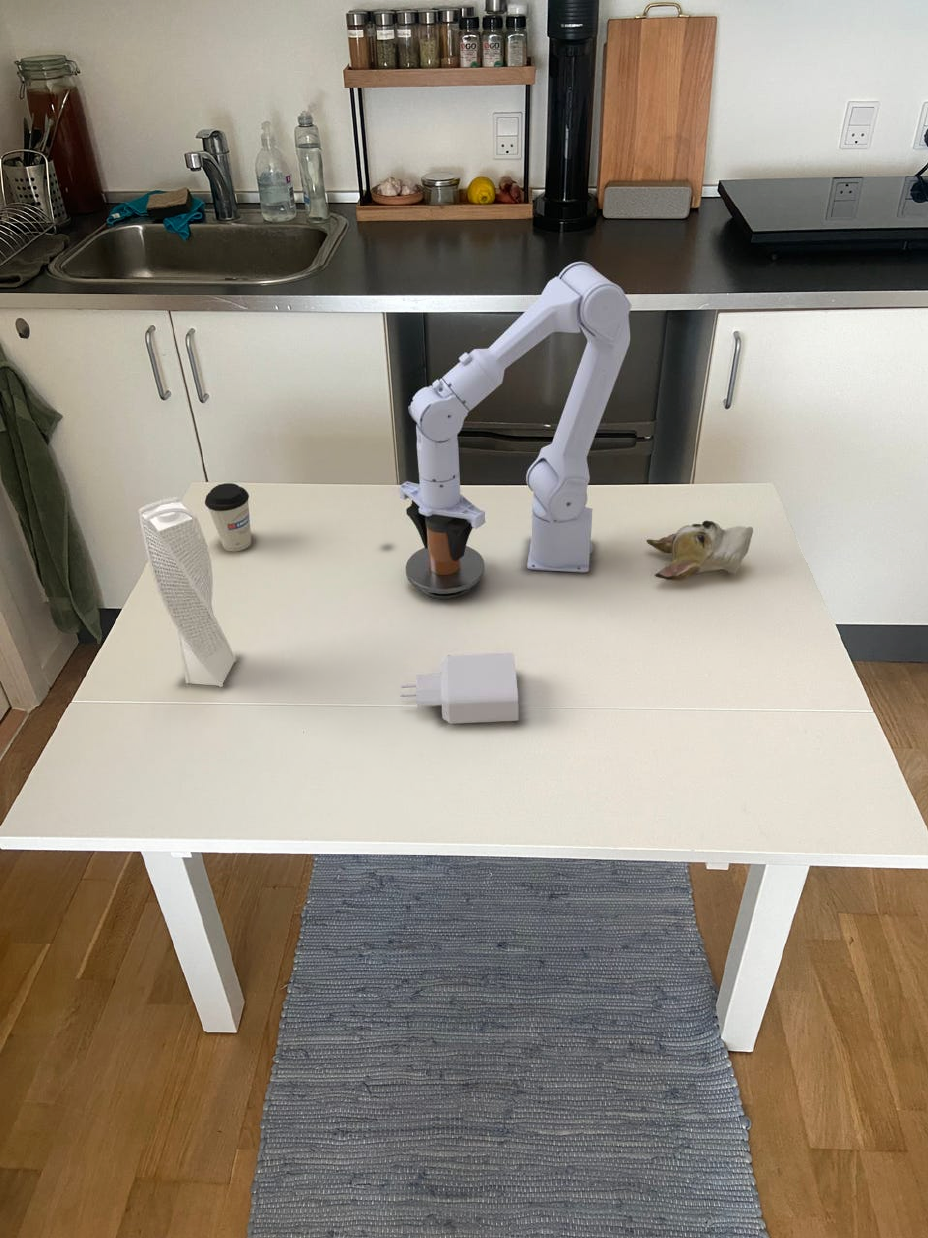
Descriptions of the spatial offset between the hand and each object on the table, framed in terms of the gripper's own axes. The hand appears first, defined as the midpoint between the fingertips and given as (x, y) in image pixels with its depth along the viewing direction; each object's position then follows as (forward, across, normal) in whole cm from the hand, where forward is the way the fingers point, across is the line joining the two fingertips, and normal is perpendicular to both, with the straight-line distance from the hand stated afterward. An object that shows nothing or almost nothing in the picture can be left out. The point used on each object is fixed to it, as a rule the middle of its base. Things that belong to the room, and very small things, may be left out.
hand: (444, 551), depth 140 cm
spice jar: (+3, 0, 0) cm, 3 cm away
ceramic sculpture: (+6, +29, +25) cm, 39 cm away
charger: (+6, +18, -19) cm, 27 cm away
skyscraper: (+6, -13, -35) cm, 38 cm away
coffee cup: (+6, -35, -12) cm, 37 cm away
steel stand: (+6, 0, 0) cm, 6 cm away
